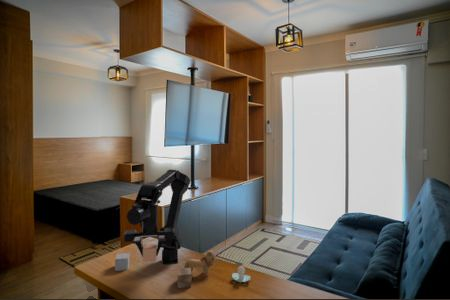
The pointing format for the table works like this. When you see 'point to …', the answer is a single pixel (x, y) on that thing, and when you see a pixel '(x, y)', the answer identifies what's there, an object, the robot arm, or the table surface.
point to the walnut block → (184, 277)
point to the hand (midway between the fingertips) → (149, 255)
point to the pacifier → (241, 275)
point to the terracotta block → (149, 252)
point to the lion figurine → (202, 262)
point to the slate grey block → (122, 262)
